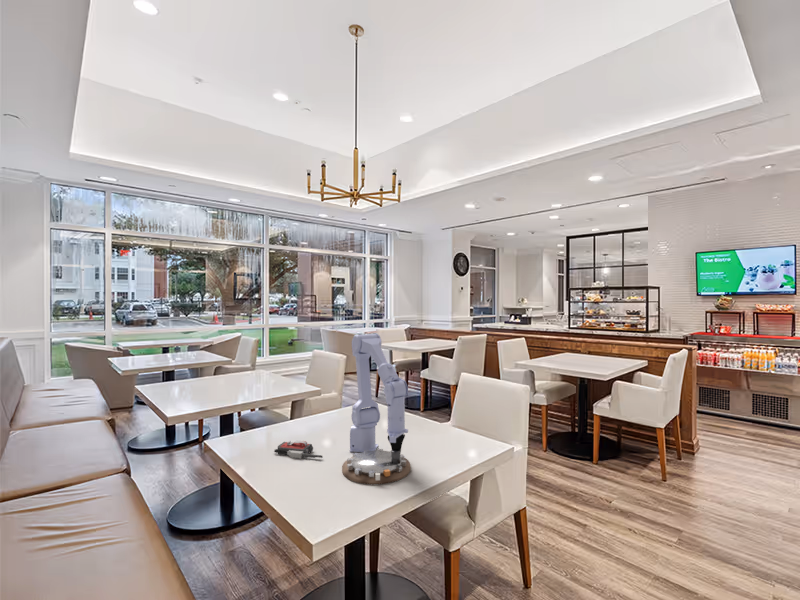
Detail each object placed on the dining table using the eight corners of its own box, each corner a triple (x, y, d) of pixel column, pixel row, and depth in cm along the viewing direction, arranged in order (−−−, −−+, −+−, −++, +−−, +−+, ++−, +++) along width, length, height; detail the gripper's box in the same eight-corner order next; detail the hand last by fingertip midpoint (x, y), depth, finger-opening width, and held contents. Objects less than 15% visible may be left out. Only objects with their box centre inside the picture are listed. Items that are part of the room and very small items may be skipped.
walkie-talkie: (270, 457, 147) (321, 461, 142) (270, 444, 147) (321, 449, 142) (283, 448, 155) (331, 452, 150) (283, 436, 155) (331, 441, 150)
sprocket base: (332, 481, 126) (332, 472, 126) (353, 453, 148) (353, 445, 148) (404, 487, 122) (404, 477, 122) (414, 457, 144) (414, 449, 144)
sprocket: (336, 462, 136) (335, 446, 136) (382, 449, 149) (382, 434, 149) (369, 483, 121) (369, 465, 121) (417, 465, 134) (417, 449, 134)
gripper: (404, 423, 127) (405, 466, 127) (410, 411, 141) (411, 449, 141) (382, 422, 128) (383, 465, 128) (391, 410, 142) (391, 448, 142)
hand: (396, 456), depth 135 cm, fingers closed
